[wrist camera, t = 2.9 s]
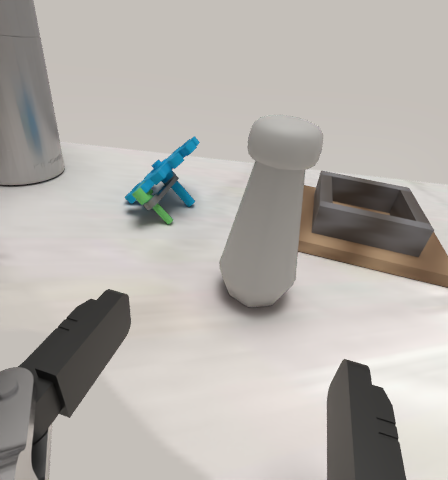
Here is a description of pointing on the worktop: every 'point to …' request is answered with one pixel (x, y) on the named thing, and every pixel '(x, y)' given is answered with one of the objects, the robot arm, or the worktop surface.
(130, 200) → the blue toy brick model
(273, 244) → the salt shaker
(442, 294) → the worktop surface
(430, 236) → the socket board
